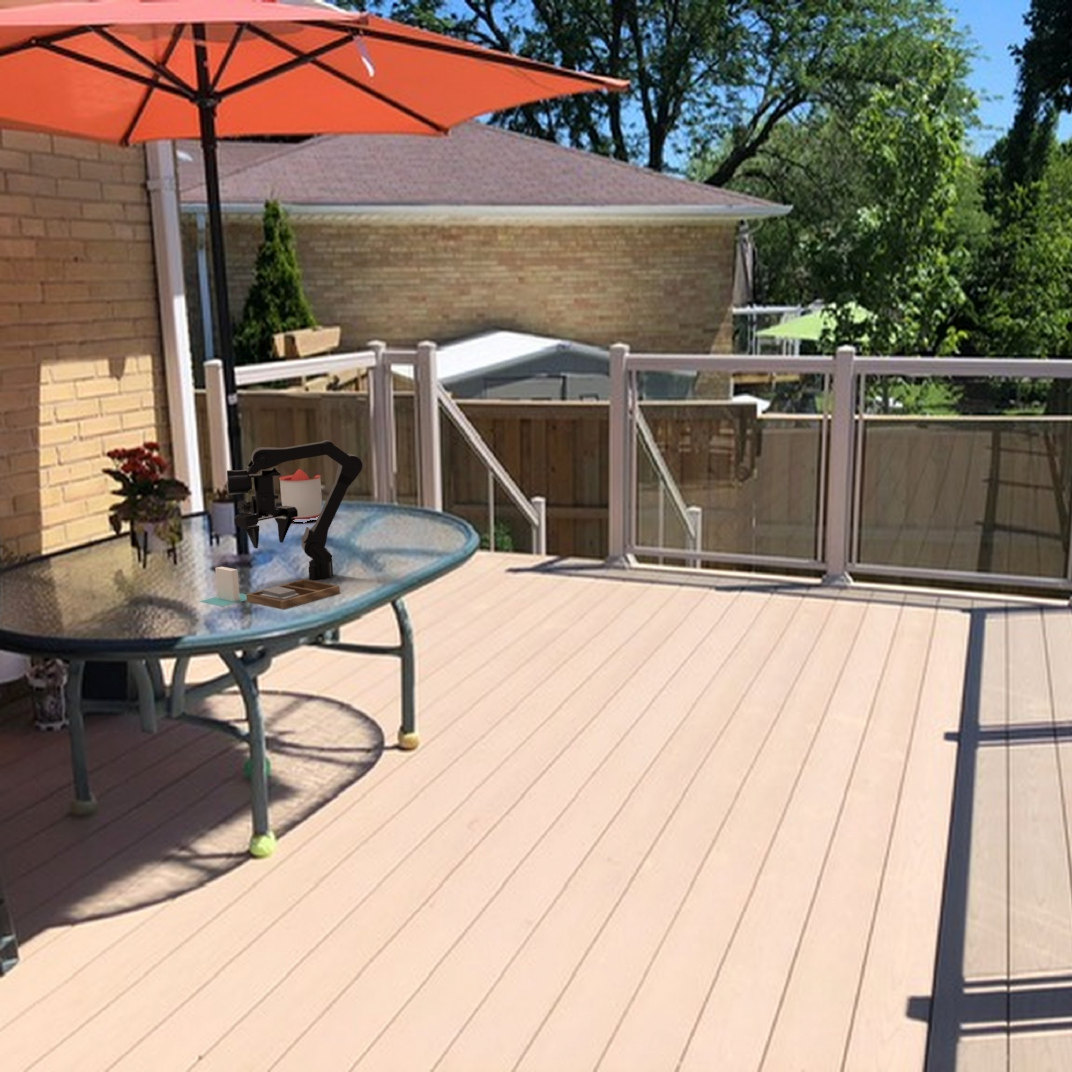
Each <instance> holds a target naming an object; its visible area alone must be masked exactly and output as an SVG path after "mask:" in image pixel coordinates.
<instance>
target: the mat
mask: <svg viewBox="0 0 1072 1072" xmlns="http://www.w3.org/2000/svg"><path fill="white" fill-rule="evenodd" d="M239 595H240V600H238V601H229V600H225V599H220V598H218V596H215V597H211V598H207V599H204V600H199V602H200V603H204V604H209V605H214V606H218V607H225V606H226V607H227V606H230V605H233V604H237V603H240V602H244V601H245V602H246V601H247V596H246V593H242V592H239Z"/></svg>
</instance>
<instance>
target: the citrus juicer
mask: <svg viewBox="0 0 1072 1072" xmlns="http://www.w3.org/2000/svg"><path fill="white" fill-rule="evenodd" d="M321 477H322V476H321V475H320V474H316V475H315V476H314V477H313V478H309V476H308V475H307V473H306V472H305V471H304V470H302V469H301V468H299V469H297V470H296V471H295V473H294V474H289V475H284V476H280V477H279V485H280V486H279V487H280V499H281V506H291V507H295V508H296V509H297V511H298V517H293V518H295V519H310V518H316V517H318V516H319V515H320V513H321V511H322V501H323V500H322V499H323V498H322V485H321V483H322V482H321V481H322V480H321Z"/></svg>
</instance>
